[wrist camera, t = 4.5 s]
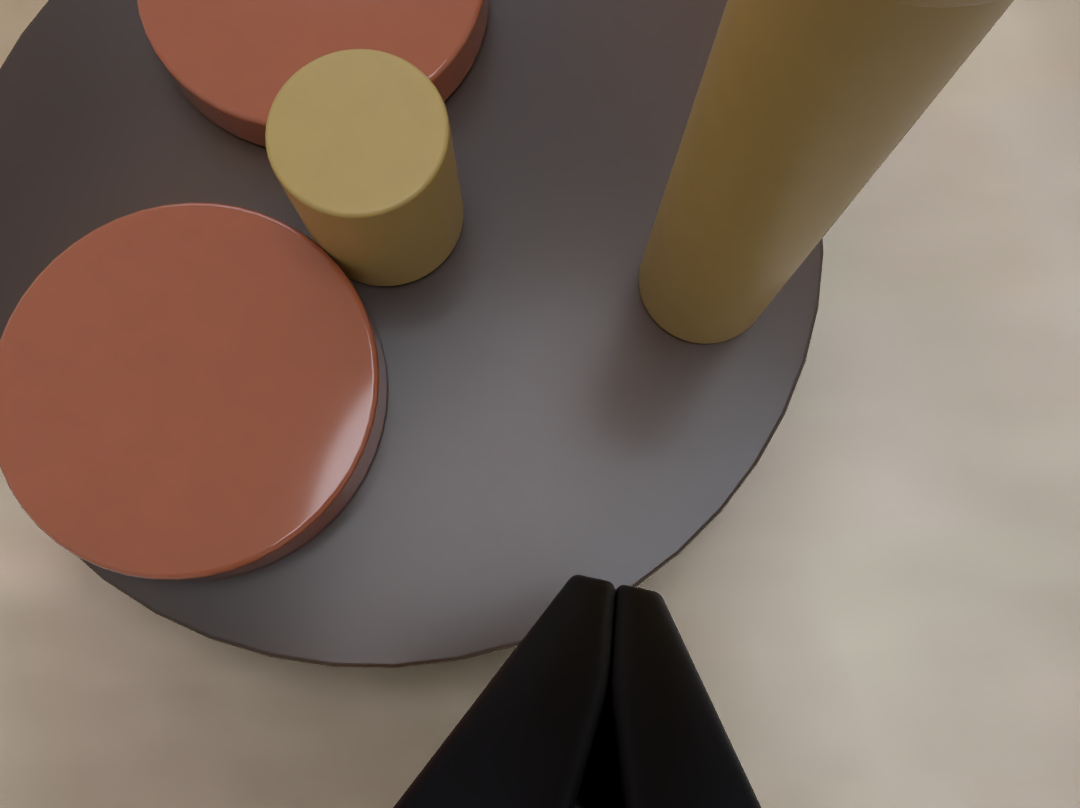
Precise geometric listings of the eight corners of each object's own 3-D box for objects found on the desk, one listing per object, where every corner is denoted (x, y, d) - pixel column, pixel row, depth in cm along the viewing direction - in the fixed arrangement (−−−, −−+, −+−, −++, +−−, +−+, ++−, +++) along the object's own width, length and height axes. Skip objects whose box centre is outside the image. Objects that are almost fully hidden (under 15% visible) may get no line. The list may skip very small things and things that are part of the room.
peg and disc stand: (-146, 555, 16) (-2341, 406, 4) (124, -183, 19) (-601, -1589, 7) (729, 755, 15) (1484, 1330, 3) (862, -37, 18) (1510, -1271, 6)
